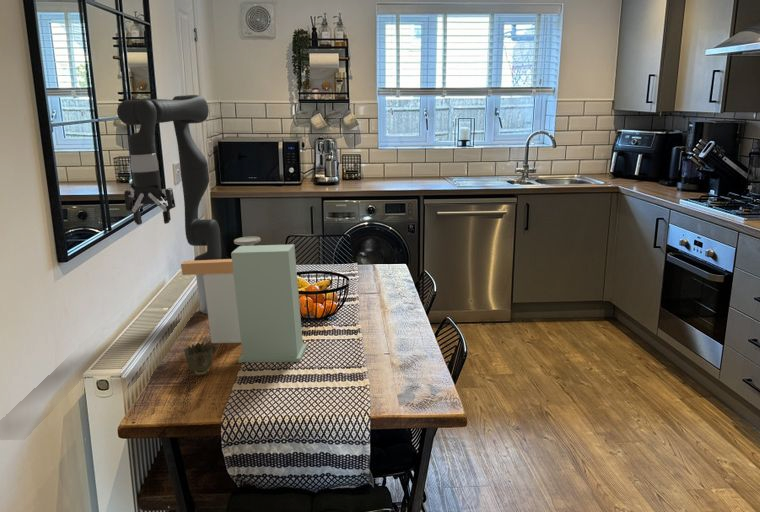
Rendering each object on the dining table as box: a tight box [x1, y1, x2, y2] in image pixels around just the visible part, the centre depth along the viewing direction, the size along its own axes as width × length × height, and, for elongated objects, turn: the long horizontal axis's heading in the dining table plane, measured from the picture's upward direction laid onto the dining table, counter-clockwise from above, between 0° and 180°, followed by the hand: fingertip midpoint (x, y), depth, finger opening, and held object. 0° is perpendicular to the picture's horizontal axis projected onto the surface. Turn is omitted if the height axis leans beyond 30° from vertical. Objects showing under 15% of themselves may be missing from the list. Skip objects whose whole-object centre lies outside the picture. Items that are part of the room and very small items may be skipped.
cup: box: [183, 342, 213, 377], centre depth 169 cm, size 8×7×8 cm
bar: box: [180, 258, 233, 276], centre depth 189 cm, size 4×26×4 cm, turn 90°
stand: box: [230, 243, 308, 364], centre depth 177 cm, size 11×18×32 cm, turn 86°
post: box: [203, 273, 241, 344], centre depth 191 cm, size 5×10×22 cm, turn 86°
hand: (153, 223), depth 185 cm, fingers open, 8 cm apart
